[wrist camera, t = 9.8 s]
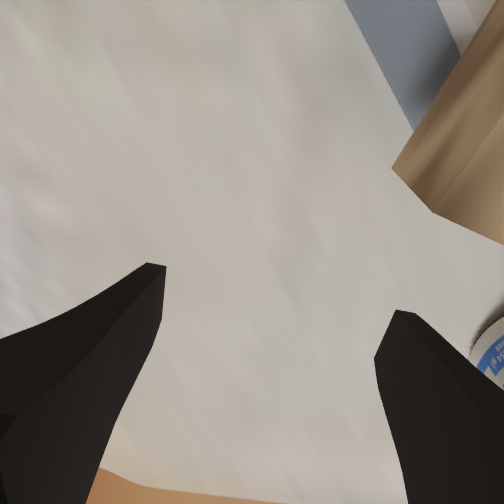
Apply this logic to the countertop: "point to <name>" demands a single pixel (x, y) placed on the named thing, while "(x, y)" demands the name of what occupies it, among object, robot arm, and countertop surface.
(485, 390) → the robot arm
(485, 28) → the oak stick
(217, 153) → the countertop surface
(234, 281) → the countertop surface
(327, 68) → the countertop surface
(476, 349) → the supplement tub
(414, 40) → the fulcrum stand
